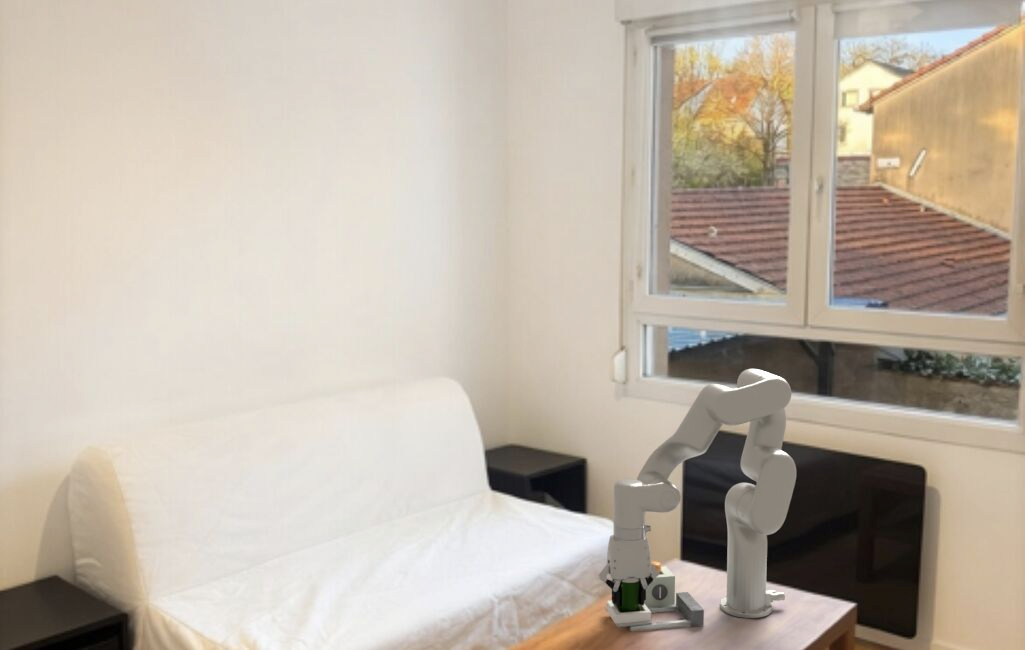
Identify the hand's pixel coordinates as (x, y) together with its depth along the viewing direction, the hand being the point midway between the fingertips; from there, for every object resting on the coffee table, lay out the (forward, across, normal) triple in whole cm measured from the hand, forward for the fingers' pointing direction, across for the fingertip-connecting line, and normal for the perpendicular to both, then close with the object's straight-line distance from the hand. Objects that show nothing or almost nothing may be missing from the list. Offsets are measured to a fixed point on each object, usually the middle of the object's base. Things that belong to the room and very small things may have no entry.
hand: (628, 603), depth 235 cm
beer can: (+5, 0, 0) cm, 5 cm away
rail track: (+5, -8, 0) cm, 9 cm away
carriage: (+3, 0, 0) cm, 3 cm away
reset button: (-3, -10, -10) cm, 14 cm away
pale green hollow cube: (+5, -10, -10) cm, 15 cm away
